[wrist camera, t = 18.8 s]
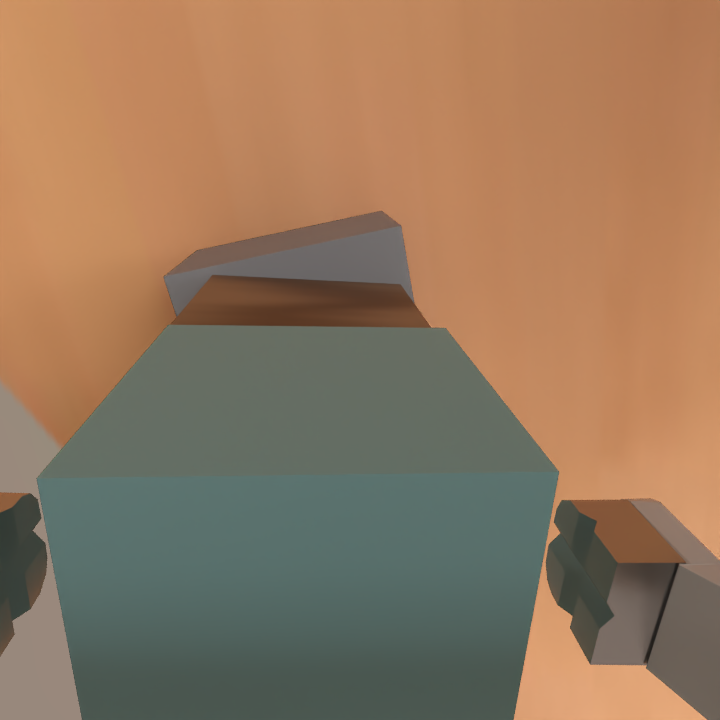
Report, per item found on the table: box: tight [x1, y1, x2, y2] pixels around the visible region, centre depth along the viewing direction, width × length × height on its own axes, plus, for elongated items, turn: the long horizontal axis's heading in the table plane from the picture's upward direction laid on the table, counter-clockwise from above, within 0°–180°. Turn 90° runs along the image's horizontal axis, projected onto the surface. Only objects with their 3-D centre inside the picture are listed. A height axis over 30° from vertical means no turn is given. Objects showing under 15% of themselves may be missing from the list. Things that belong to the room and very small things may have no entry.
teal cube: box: [37, 325, 559, 720], centre depth 9 cm, size 6×6×6 cm
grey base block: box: [164, 211, 414, 316], centre depth 19 cm, size 7×7×5 cm
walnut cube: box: [170, 275, 431, 328], centre depth 15 cm, size 6×6×6 cm
